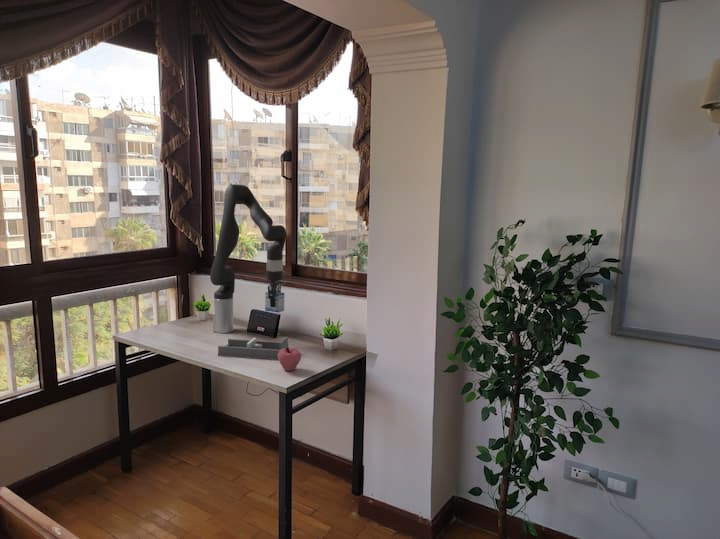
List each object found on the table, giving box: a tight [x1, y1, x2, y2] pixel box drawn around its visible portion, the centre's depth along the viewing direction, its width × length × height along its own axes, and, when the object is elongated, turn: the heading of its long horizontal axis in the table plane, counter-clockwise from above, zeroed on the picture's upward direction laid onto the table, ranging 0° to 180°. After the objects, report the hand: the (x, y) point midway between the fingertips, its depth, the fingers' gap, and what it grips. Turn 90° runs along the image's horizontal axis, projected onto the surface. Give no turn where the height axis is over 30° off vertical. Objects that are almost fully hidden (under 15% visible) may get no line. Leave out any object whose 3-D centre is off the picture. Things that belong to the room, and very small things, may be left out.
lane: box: [217, 336, 289, 361], centre depth 234 cm, size 28×13×7 cm, turn 82°
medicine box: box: [264, 291, 285, 313], centre depth 244 cm, size 8×4×9 cm, turn 63°
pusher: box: [247, 337, 262, 348], centre depth 234 cm, size 5×9×4 cm, turn 172°
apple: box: [278, 347, 302, 372], centre depth 214 cm, size 10×9×10 cm
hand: (274, 305), depth 244 cm, fingers closed on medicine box, 5 cm apart
